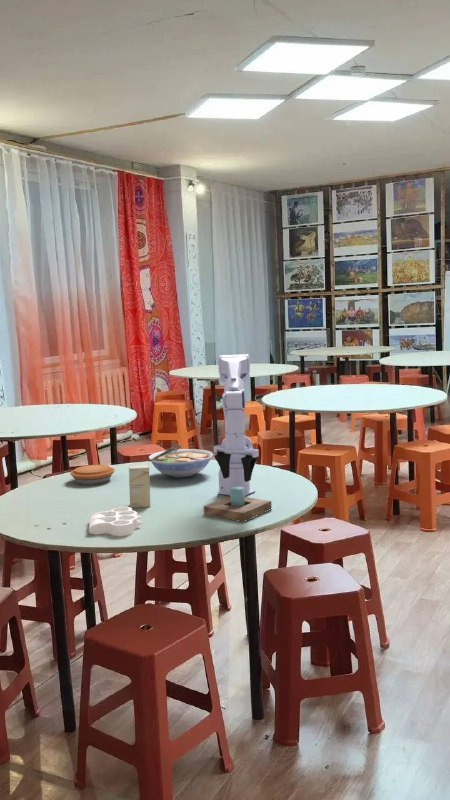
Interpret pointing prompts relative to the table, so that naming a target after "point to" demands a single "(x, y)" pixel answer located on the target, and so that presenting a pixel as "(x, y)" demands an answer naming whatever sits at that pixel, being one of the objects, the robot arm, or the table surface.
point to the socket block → (237, 508)
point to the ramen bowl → (180, 461)
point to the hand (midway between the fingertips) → (236, 479)
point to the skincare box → (139, 486)
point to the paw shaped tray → (115, 522)
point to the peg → (237, 496)
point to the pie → (92, 474)
